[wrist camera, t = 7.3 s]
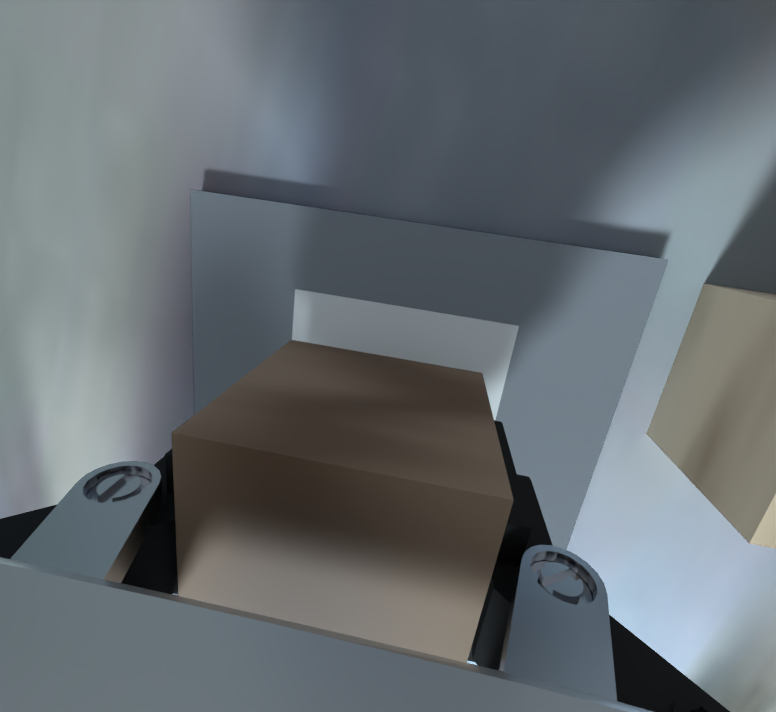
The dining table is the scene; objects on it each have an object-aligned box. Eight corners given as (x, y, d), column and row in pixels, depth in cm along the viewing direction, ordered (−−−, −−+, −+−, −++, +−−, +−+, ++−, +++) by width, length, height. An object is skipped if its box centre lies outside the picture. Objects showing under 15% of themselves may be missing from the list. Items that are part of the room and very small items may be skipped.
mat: (658, 258, 12) (669, 260, 11) (548, 574, 16) (552, 589, 15) (201, 190, 13) (189, 189, 12) (204, 501, 17) (194, 511, 16)
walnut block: (482, 373, 10) (513, 500, 6) (446, 530, 12) (447, 731, 7) (291, 339, 11) (171, 432, 6) (281, 496, 12) (181, 665, 8)
